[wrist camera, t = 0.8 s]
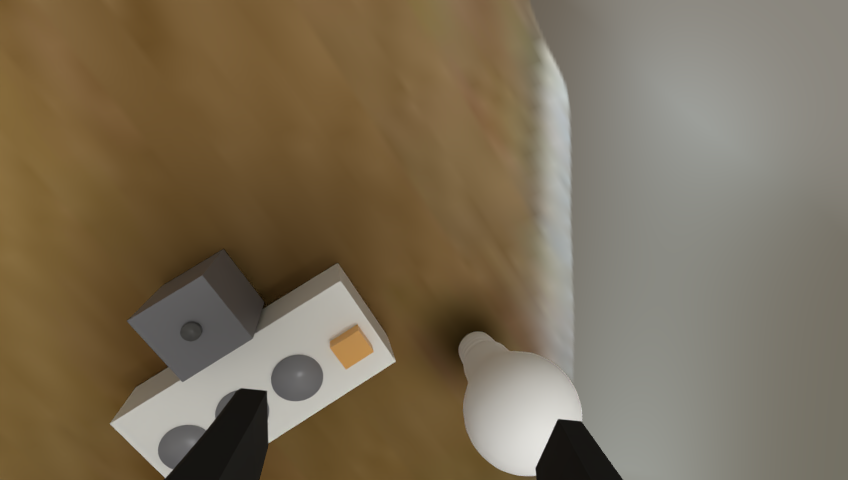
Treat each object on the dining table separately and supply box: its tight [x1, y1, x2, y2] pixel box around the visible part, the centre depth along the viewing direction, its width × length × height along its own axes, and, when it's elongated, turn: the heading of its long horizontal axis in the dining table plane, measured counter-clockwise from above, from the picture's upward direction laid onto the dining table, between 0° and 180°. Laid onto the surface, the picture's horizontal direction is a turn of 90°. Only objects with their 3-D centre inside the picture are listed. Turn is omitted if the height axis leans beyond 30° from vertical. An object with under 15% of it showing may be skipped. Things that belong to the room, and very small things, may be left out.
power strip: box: [110, 263, 396, 478], centre depth 26 cm, size 14×6×4 cm, turn 119°
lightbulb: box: [458, 331, 582, 476], centre depth 26 cm, size 6×6×11 cm
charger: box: [127, 249, 264, 382], centre depth 24 cm, size 4×6×5 cm
